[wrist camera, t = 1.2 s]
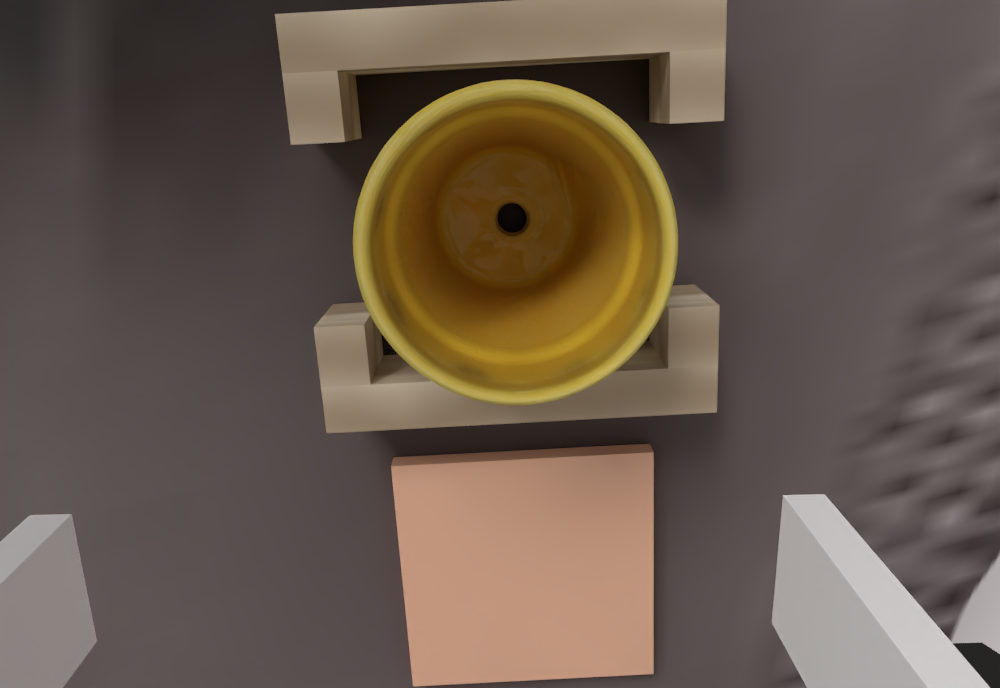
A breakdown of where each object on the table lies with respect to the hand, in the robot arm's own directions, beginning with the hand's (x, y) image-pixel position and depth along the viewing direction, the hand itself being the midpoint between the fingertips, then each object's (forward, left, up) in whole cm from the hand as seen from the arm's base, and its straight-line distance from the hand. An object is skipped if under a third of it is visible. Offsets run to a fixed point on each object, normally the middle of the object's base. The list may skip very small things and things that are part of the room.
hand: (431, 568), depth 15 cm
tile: (+13, +2, -21) cm, 25 cm away
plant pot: (-4, +2, -22) cm, 22 cm away
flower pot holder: (-4, +2, -21) cm, 22 cm away
